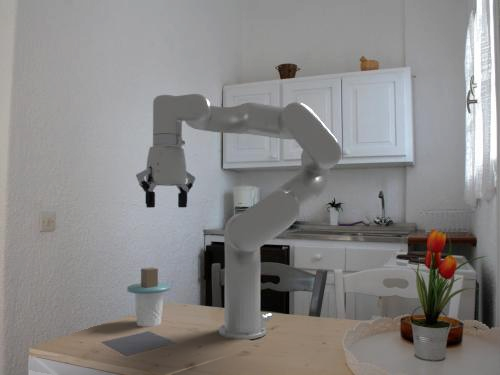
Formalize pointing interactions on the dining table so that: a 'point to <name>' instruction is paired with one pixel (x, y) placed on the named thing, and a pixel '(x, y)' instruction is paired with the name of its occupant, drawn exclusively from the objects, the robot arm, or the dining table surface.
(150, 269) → the lid
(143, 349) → the mat
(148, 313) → the white cup
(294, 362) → the dining table surface
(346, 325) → the dining table surface
